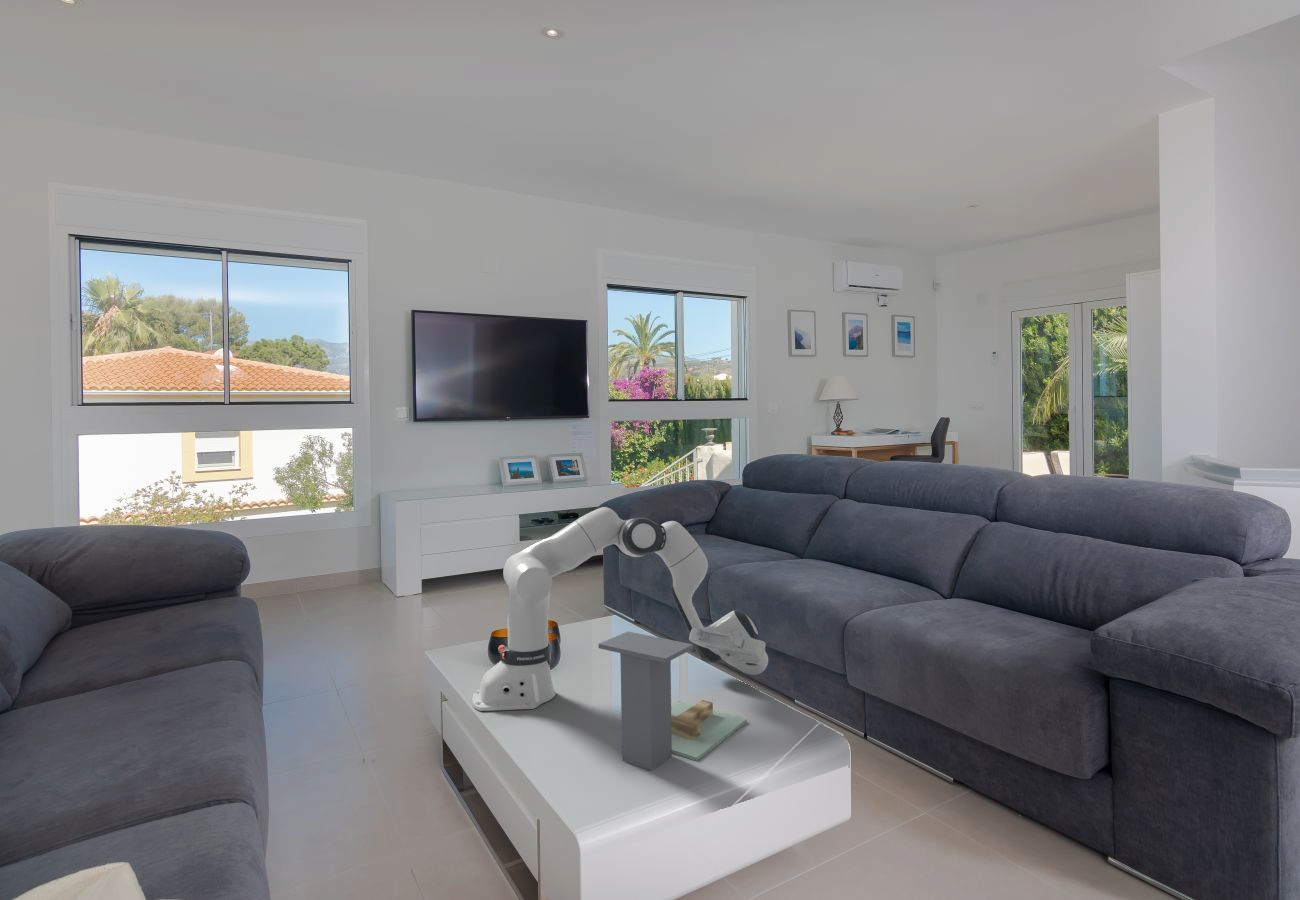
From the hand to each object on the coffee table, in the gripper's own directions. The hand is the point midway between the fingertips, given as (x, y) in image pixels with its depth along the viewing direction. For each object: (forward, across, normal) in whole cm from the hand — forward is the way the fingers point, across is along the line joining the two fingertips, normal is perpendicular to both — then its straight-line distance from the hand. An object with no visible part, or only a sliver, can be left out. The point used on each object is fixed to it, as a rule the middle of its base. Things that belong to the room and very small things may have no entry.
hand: (713, 634), depth 183 cm
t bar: (0, 0, +22) cm, 22 cm away
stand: (+16, 0, +33) cm, 37 cm away
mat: (+2, 0, +24) cm, 24 cm away
